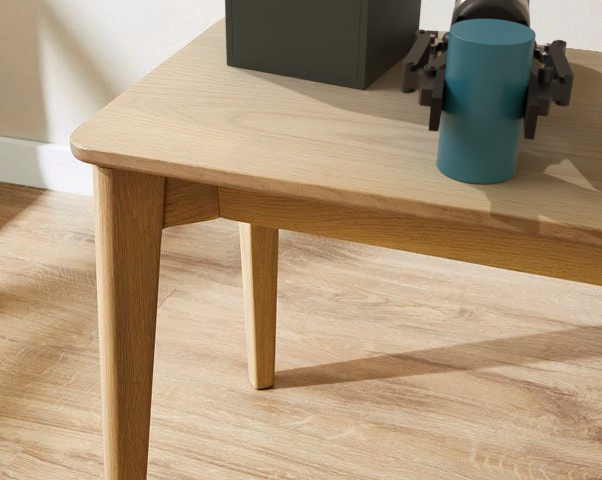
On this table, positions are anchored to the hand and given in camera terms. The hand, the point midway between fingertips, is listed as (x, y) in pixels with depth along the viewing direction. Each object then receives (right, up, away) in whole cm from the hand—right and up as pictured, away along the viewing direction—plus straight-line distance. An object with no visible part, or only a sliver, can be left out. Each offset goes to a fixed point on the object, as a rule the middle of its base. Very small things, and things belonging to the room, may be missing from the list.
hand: (482, 118), depth 74 cm
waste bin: (-11, +13, +31) cm, 35 cm away
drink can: (+1, -3, +8) cm, 8 cm away
